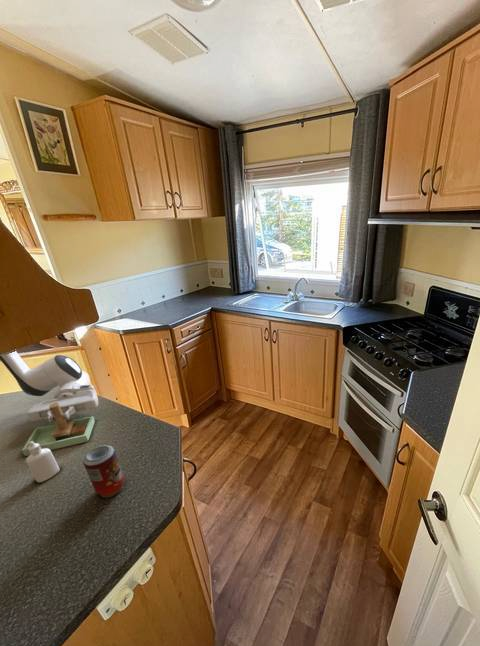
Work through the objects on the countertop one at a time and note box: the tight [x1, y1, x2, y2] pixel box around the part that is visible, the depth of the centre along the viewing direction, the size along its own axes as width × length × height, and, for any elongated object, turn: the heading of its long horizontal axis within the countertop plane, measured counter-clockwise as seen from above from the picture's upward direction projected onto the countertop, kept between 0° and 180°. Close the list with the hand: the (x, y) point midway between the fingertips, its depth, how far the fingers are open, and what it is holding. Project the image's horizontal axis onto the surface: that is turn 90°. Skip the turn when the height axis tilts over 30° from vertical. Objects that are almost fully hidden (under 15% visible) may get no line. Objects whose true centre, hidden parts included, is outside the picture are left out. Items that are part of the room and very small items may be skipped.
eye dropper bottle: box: [25, 441, 61, 483], centre depth 79 cm, size 4×6×12 cm
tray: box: [21, 415, 96, 457], centre depth 97 cm, size 18×12×2 cm, turn 109°
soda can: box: [82, 444, 125, 498], centre depth 74 cm, size 7×7×12 cm
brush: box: [49, 403, 75, 441], centre depth 95 cm, size 4×7×12 cm, turn 19°
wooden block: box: [71, 424, 87, 437], centre depth 98 cm, size 4×4×2 cm
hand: (58, 418), depth 94 cm, fingers closed on brush, 2 cm apart
